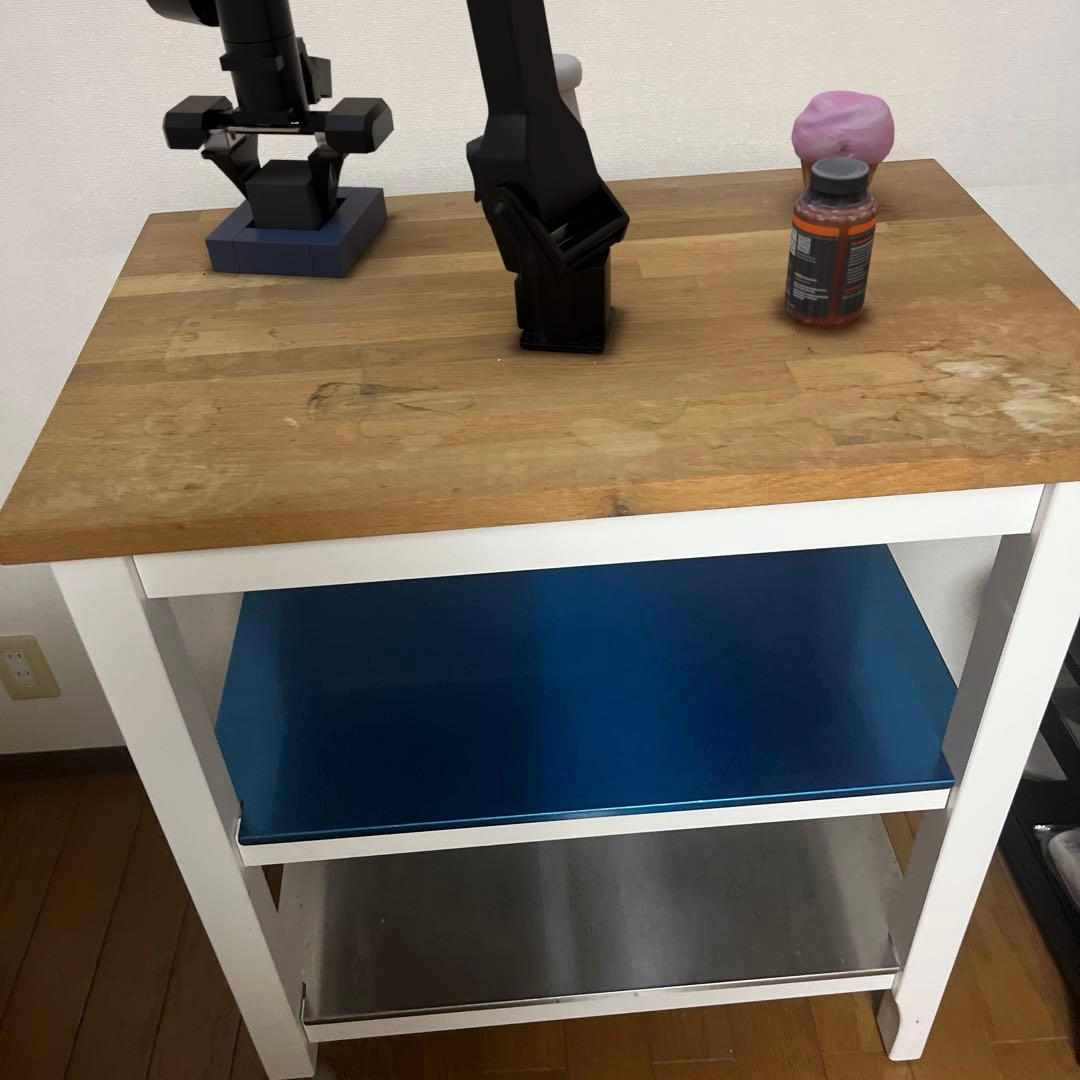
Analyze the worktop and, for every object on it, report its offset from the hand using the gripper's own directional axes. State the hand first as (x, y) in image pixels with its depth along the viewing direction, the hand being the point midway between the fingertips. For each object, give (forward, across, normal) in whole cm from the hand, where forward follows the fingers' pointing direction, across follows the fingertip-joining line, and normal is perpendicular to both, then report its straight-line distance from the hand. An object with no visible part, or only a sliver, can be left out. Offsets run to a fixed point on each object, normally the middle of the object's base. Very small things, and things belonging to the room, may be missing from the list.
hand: (298, 220), depth 92 cm
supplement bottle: (+2, -46, +8) cm, 47 cm away
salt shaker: (+2, -22, -11) cm, 25 cm away
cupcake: (+2, -47, -12) cm, 49 cm away
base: (+2, 0, 0) cm, 2 cm away
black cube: (+2, 0, 0) cm, 2 cm away
